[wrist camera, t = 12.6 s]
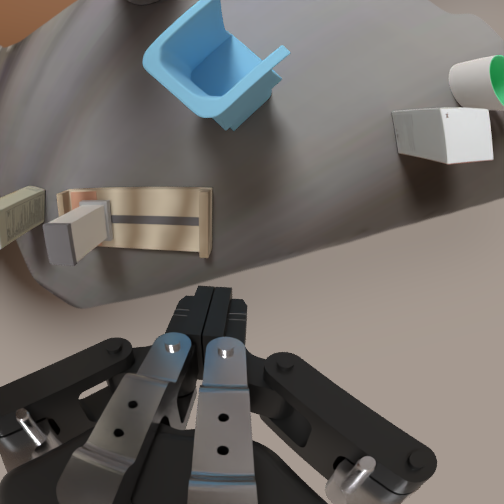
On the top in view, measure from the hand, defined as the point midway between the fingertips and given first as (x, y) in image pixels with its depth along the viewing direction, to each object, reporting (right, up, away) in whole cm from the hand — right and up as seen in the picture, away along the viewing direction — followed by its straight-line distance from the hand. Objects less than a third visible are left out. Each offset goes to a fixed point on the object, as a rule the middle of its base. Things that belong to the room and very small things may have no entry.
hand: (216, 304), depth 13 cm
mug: (+38, +29, +19) cm, 51 cm away
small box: (+26, +20, +23) cm, 40 cm away
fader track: (-16, +8, +29) cm, 34 cm away
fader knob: (-22, +7, +27) cm, 35 cm away
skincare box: (-36, +11, +28) cm, 47 cm away
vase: (-1, +23, +22) cm, 32 cm away
